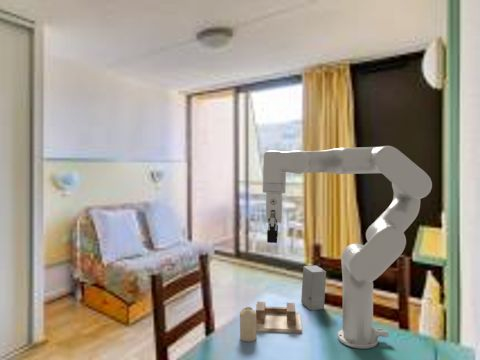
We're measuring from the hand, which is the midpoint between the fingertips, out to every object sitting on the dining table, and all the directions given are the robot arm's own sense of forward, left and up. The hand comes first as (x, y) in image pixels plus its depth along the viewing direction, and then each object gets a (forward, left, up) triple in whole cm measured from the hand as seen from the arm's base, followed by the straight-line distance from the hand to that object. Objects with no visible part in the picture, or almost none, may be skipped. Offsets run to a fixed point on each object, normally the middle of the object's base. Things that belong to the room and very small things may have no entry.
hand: (272, 239), depth 120 cm
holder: (-1, -11, -33) cm, 35 cm away
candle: (+8, +1, -33) cm, 34 cm away
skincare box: (-16, -28, -33) cm, 46 cm away
